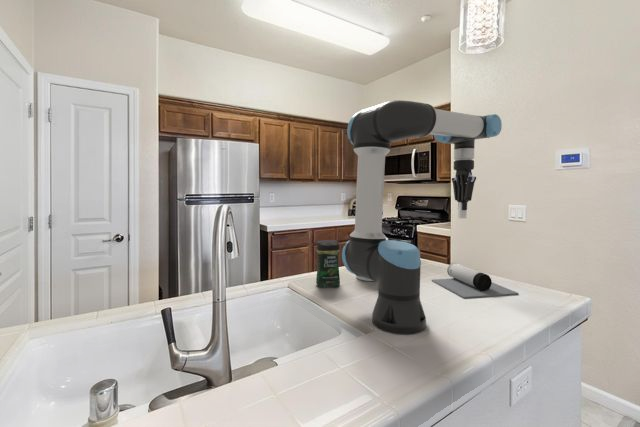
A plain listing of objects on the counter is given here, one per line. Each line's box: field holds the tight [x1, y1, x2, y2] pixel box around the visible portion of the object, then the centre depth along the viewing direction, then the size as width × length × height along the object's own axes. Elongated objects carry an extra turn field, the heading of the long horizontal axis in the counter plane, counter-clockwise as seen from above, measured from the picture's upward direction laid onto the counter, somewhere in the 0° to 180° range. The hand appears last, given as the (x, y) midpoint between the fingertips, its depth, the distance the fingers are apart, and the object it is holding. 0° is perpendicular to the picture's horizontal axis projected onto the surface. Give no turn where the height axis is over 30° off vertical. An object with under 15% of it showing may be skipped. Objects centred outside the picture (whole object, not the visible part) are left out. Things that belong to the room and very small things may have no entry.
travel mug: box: [446, 262, 493, 291], centre depth 127 cm, size 6×7×20 cm
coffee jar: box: [315, 239, 341, 288], centre depth 128 cm, size 10×8×19 cm
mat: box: [431, 277, 519, 299], centre depth 124 cm, size 22×22×1 cm
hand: (462, 218), depth 129 cm, fingers closed
